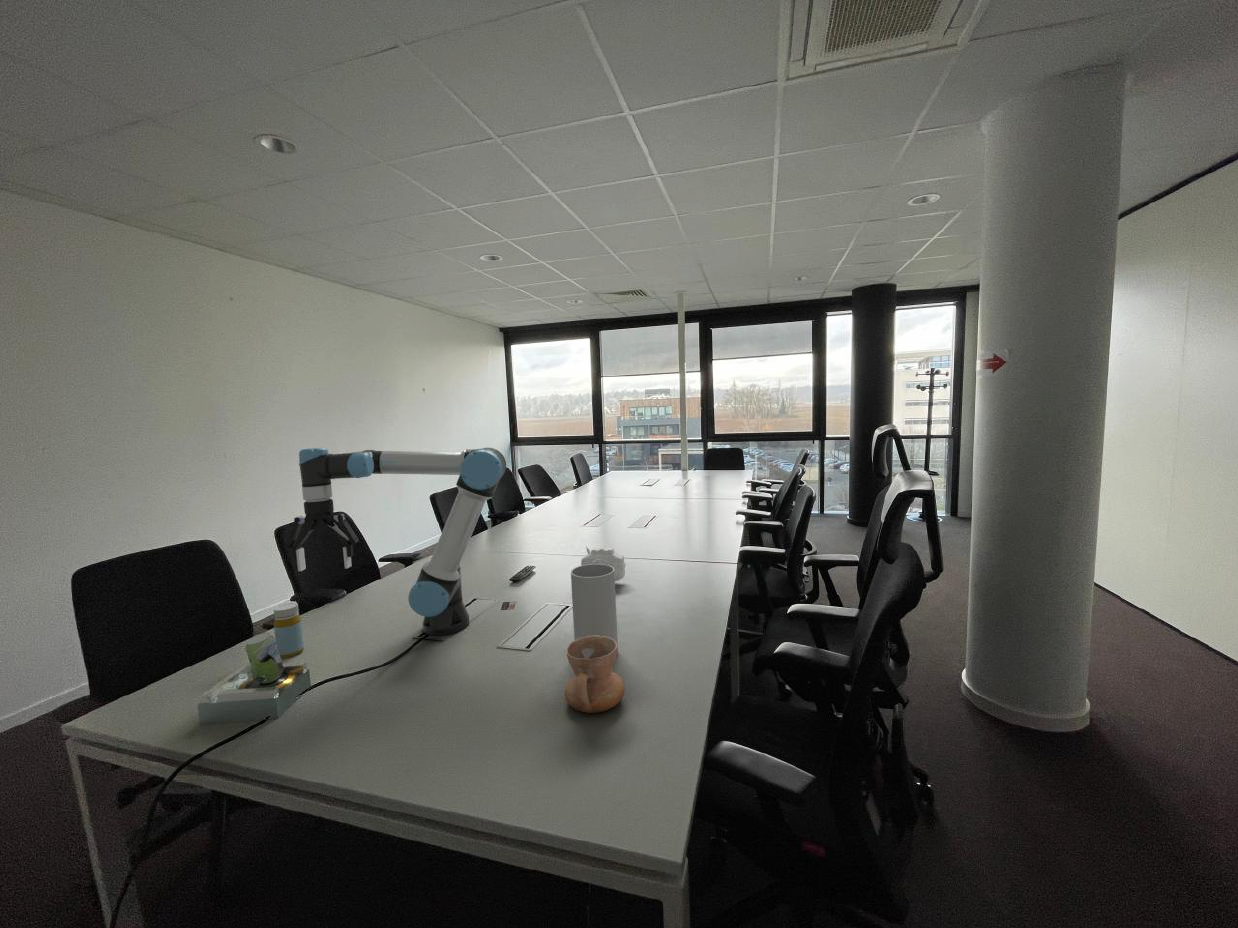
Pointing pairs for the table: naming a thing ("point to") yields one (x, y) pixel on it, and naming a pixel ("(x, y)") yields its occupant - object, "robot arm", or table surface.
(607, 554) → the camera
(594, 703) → the ceramic jug
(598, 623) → the cylinder vase
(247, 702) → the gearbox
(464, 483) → the robot arm
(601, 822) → the table surface
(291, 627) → the bottle
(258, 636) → the beverage can
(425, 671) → the table surface
